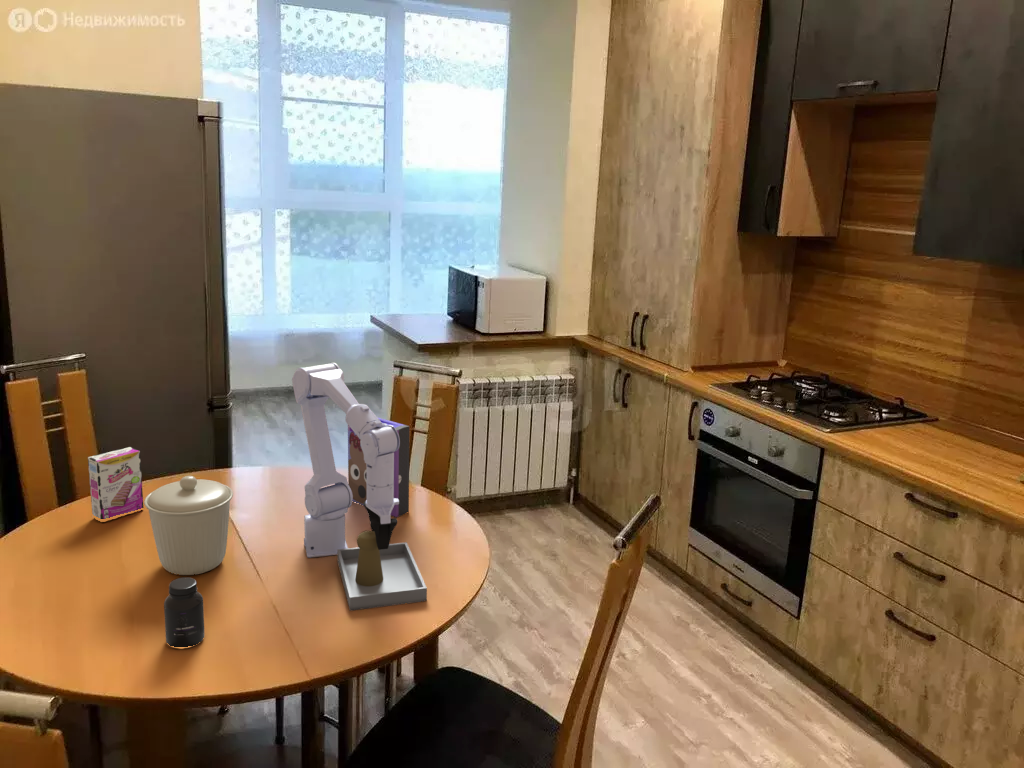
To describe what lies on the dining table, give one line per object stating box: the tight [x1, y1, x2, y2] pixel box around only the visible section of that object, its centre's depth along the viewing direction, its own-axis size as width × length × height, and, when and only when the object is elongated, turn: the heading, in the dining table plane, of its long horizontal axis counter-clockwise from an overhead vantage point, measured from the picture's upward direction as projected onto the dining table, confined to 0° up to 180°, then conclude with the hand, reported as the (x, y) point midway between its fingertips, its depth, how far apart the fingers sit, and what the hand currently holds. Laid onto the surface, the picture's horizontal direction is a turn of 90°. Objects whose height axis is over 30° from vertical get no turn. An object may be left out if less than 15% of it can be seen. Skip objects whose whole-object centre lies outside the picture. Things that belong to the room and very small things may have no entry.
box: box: [336, 542, 428, 612], centre depth 178 cm, size 16×22×3 cm
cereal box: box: [347, 416, 410, 518], centre depth 214 cm, size 17×5×24 cm, turn 55°
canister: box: [143, 475, 234, 576], centre depth 179 cm, size 18×18×21 cm
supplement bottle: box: [163, 576, 206, 647], centre depth 152 cm, size 7×7×12 cm
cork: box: [355, 530, 383, 586], centre depth 176 cm, size 6×6×11 cm
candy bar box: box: [87, 446, 144, 519], centre depth 203 cm, size 11×5×16 cm, turn 144°
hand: (380, 540), depth 176 cm, fingers open, 7 cm apart
